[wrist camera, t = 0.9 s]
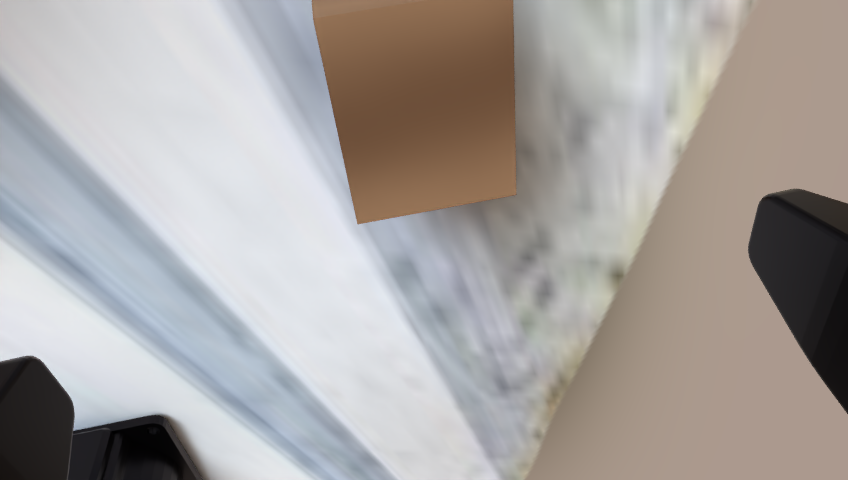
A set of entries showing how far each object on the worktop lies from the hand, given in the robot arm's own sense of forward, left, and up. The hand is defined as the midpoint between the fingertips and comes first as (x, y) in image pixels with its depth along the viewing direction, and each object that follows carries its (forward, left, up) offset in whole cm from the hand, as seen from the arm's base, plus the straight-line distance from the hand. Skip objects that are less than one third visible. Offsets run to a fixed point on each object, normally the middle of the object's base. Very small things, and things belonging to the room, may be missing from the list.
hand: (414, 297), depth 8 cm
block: (-1, -1, -12) cm, 12 cm away
